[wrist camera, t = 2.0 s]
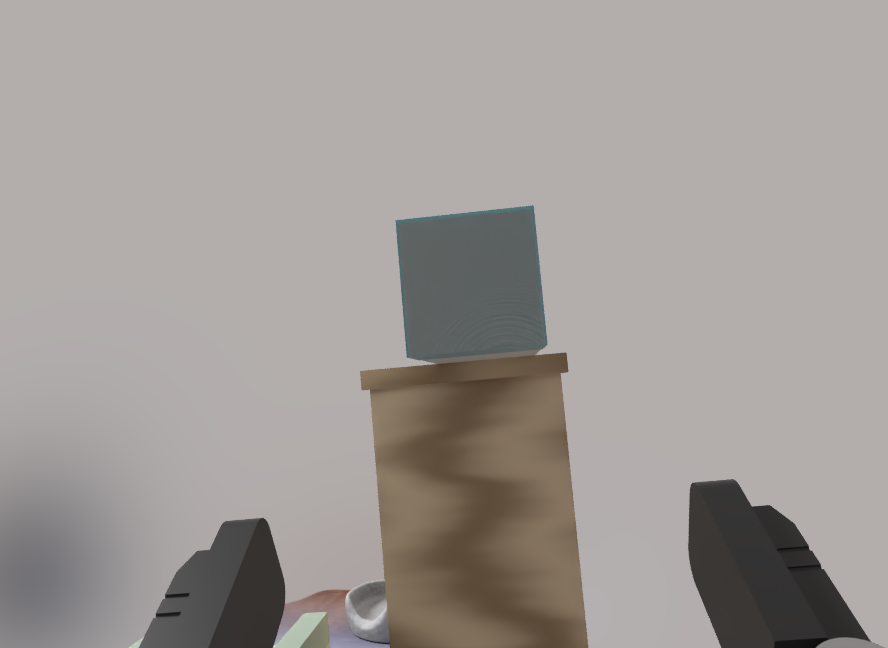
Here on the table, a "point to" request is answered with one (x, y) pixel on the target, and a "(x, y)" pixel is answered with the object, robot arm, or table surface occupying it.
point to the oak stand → (477, 504)
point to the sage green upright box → (301, 633)
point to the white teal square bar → (471, 286)
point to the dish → (368, 611)
